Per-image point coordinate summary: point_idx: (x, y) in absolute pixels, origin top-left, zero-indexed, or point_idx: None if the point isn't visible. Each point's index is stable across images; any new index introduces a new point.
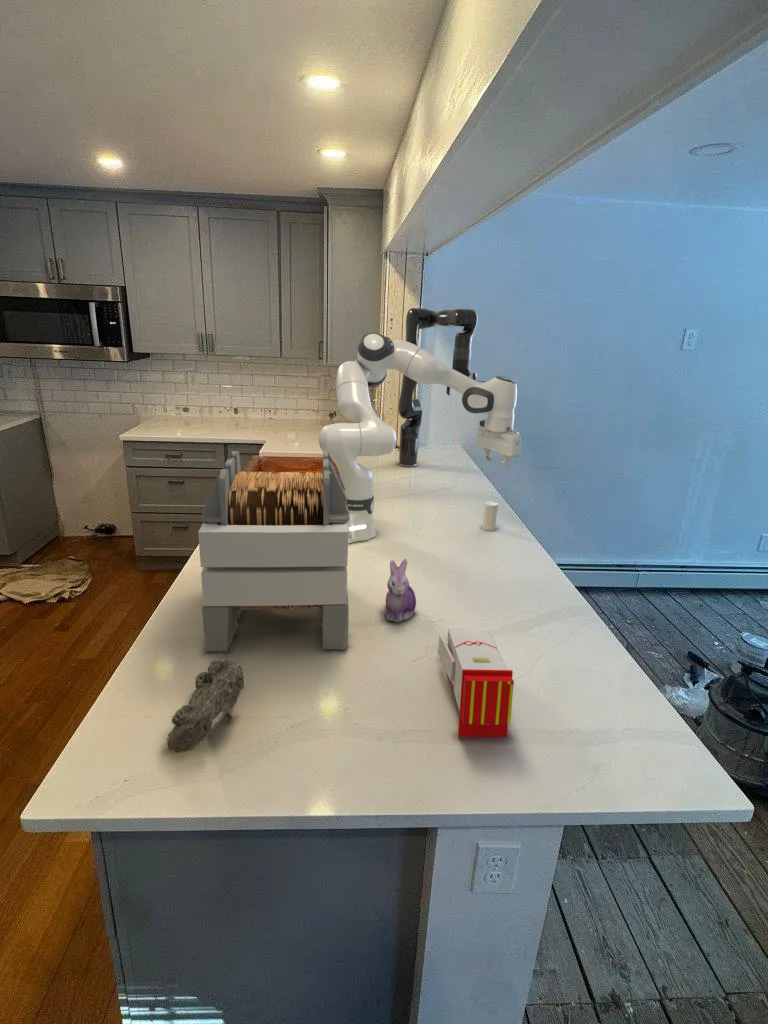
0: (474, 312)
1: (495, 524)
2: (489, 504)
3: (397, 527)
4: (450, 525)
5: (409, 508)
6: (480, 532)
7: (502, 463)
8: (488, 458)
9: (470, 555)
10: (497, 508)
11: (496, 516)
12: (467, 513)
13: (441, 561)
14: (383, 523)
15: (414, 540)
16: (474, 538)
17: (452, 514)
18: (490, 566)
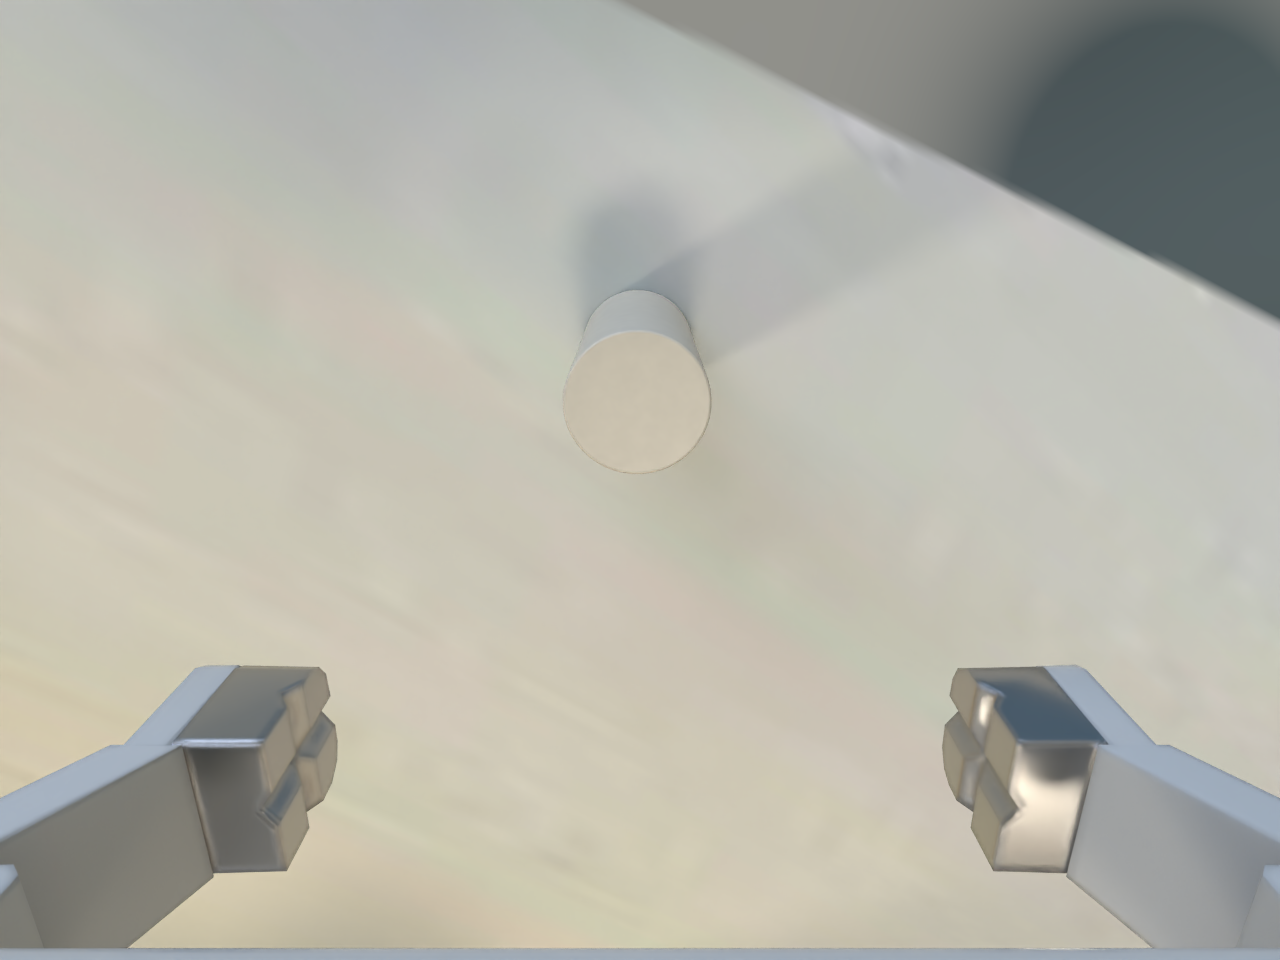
0: None
1: (683, 318)
2: (658, 451)
3: (399, 901)
4: (470, 590)
5: (34, 679)
6: (683, 463)
7: (1019, 843)
8: (298, 779)
9: None
10: (687, 341)
11: (685, 328)
12: (237, 292)
13: (953, 916)
14: (308, 939)
15: (630, 906)
16: (763, 573)
17: (235, 438)
18: (1165, 734)
